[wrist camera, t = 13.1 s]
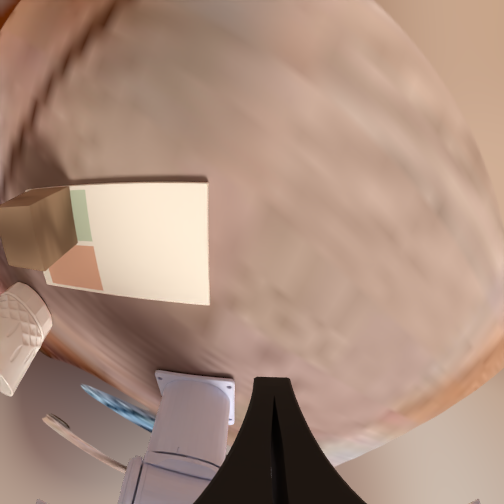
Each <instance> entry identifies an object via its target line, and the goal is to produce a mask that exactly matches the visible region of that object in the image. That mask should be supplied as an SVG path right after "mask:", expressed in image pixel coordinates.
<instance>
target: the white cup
mask: <svg viewBox="0 0 504 504" xmlns="http://www.w3.org/2000/svg"><path fill="white" fill-rule="evenodd" d="M51 327H52V318H51V314H50V312H49V310H48V308H47V306H46V304H45V303H44V301H43V300H42V299H41V297H40V296H39V295H38V294H37V292H35V291H34V290H33V289H32V288H31V287H29V286H28V285H27V284H24V283H21V282H17V283H15V284H13V285H12V286H11V287H9V288H8V289H7V290H6V291H5V292H4V293H2V294H0V391H1V392H2V393H4V394H6V395H8V396H13V394H14V392H15V390H16V388H17V386H18V385H19V383H20V381H21V379H22V377H23V376H24V374H25V372H26V370H27V369H28V367H29V366H30V364H31V361H32V360H33V358H34V357H35V355H36V353H37V351H38V350H39V348H40V347H41V345H42V342H43V340H44V339H45V337H46V336H47V334H48V333H49V331H50V329H51Z"/></svg>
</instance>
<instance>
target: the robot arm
mask: <svg viewBox="0 0 504 504" xmlns="http://www.w3.org/2000/svg"><path fill="white" fill-rule="evenodd" d="M155 377H156V380H157V383H158V386H159V389H160V392H161V395H162V399H161V402H160V405H159V409H158V412H157V416H156V419H155V423H154V427H153V430H152V434H151V437H150V442H149V445H148V449H147V451H146V454H145V456H144V459H143V461H142V457H140V456H135V458H131V459H130V460H129V462H128V466H127V469H126V472H125V476H124V480H123V484H122V488H121V492H120V496H119V500H118V504H367V503H365V502H364V501H363V500H362V499H361V498H360V497H359V496H358V495H357V494H356V493H355V492H354V491H353V490H352V489H351V488H350V487H349V485H348V484H347V483H346V482H345V481H344V480H343V479H342V477H341V476H340V475H339V474H338V473H337V471H336V470H335V469H334V467H333V466H332V465H331V463H330V462H329V460H328V459H327V457H326V456H325V455H324V453H323V451H322V450H321V448H320V447H319V445H318V443H317V442H316V440H315V438H314V436H313V434H312V433H311V431H310V429H309V427H308V425H307V423H306V421H305V418H304V416H303V414H302V412H301V410H300V407H299V405H298V402H297V400H296V397H295V394H294V391H293V388H292V385H291V381H290V379H289V378H278V377H256V378H254V384H253V392H252V396H251V400H250V404H249V407H248V410H247V413H246V416H245V418H244V421H243V424H242V426H241V428H240V431H239V433H238V435H237V437H236V439H235V441H234V443H233V445H232V447H231V449H230V451H229V453H228V455H227V457H226V458H225V455H226V445H227V434H228V425H233V424H234V405H235V381H234V380H233V379H229V378H217V377H207V376H198V375H190V374H182V373H175V372H168V371H162V370H156V372H155ZM36 504H47V503H46V502H44V501H42V500H40V499H37V502H36ZM469 504H480V501H479V499H477V500H475V501H473V502H471V503H469Z"/></svg>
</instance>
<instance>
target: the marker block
mask: <svg viewBox="0 0 504 504" xmlns="http://www.w3.org/2000/svg"><path fill="white" fill-rule="evenodd" d="M0 236H1V240H2V244H3V248H4V251H5V255H6V258H7V261H8V265H9V266H15V267H21V268H27V269H33V270H39V271H46V270H47V269H48V268H49V267H50V266H52V265H53V264H54V263H55V262H56V261H57V260H58V259H60V258H61V257H62V256H63V255H64V254H65V253H67V252H68V251H69V250H70V249H71V248H72V247H74V246H75V245H76V244H77V243H78V239H77V234H76V229H75V223H74V217H73V210H72V203H71V196H70V187H69V186H65V187H52V188H41V189H32V190H29V191H27V192H25V193H23V194H21V195H19V196H17V197H15V198H13V199H11V200H9V201H7V202H5V203H3V204H1V205H0Z"/></svg>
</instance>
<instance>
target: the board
mask: <svg viewBox="0 0 504 504" xmlns="http://www.w3.org/2000/svg"><path fill="white" fill-rule="evenodd" d="M208 185H209V182H121V183H98V184H81V185H67V186H69V187H70V196H71V203H72V210H73V217H74V223H75V229H76V234H77V239H78V243H77V244H76V245H75V246H74V247H72V248H71V249H70V250H69V251H68V252H67V253H65V254H64V255H63V256H62V257H61V258H60V259H58V260H57V261H56V262H55V263H54V264H53V265H52V266H50V267H49V268H48V269H47V270H46V271H43V273H44V276H45V280H46V283H47V284H48V285H54V286H59V287H65V288H71V289H77V290H83V291H90V292H96V293H103V294H110V295H117V296H125V297H133V298H141V299H149V300H158V301H167V302H177V303H188V304H199V305H210V281H209V232H208ZM55 187H65V186H55ZM44 188H52V187H44ZM34 189H41V188H34ZM29 190H32V189H27V190H25V192H27V191H29Z"/></svg>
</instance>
